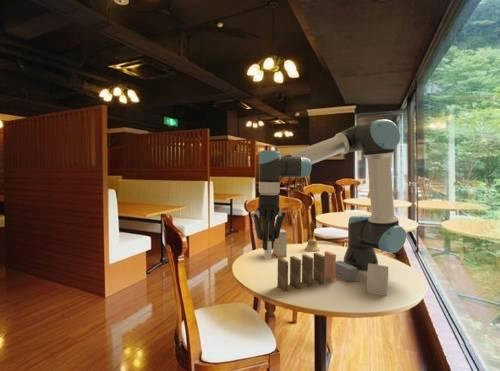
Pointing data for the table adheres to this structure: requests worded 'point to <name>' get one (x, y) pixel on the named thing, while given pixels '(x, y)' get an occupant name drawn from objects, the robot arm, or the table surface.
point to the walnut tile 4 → (318, 268)
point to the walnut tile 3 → (307, 270)
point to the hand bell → (312, 240)
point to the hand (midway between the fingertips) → (267, 258)
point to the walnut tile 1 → (282, 274)
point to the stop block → (346, 271)
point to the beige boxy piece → (377, 279)
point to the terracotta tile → (330, 266)
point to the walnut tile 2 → (295, 272)
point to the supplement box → (281, 244)
